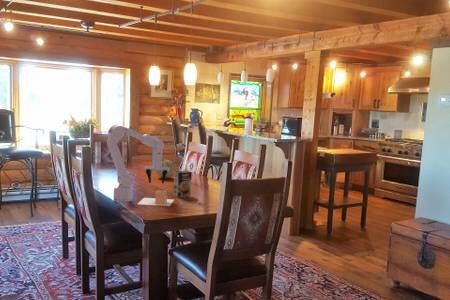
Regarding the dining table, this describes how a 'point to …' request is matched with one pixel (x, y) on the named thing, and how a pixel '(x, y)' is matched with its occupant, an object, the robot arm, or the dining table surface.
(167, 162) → the cantaloupe
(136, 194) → the dining table surface
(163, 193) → the peach cube
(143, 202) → the base plate
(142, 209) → the dining table surface
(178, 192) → the coffee box
